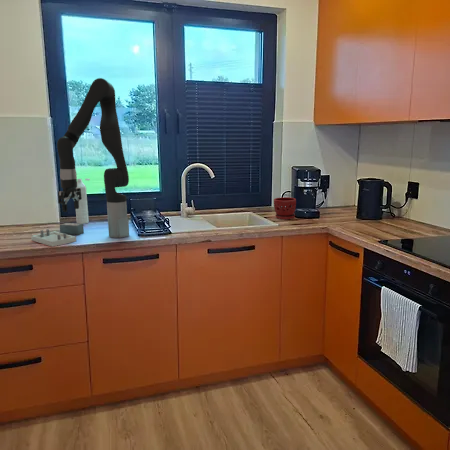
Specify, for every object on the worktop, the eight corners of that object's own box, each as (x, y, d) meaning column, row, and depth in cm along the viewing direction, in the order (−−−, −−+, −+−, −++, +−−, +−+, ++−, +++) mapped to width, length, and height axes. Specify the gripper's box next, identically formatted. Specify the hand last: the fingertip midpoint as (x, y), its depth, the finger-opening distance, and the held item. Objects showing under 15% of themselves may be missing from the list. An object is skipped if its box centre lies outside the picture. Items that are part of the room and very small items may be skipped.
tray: (76, 241, 194) (75, 232, 193) (52, 246, 185) (51, 237, 184) (55, 235, 205) (54, 227, 204) (31, 240, 196) (30, 231, 195)
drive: (83, 233, 210) (83, 223, 209) (78, 235, 206) (77, 225, 204) (66, 232, 213) (65, 222, 212) (60, 234, 208) (59, 224, 207)
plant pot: (282, 215, 257) (283, 196, 255) (299, 218, 248) (300, 198, 245) (268, 218, 249) (269, 198, 246) (285, 221, 239) (286, 201, 237)
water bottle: (75, 224, 231) (72, 179, 226) (77, 221, 237) (74, 178, 232) (92, 223, 233) (89, 179, 227) (93, 221, 239) (90, 177, 233)
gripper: (72, 176, 211) (74, 207, 215) (52, 179, 198) (54, 212, 202) (84, 176, 209) (86, 208, 213) (64, 180, 196) (67, 213, 200)
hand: (71, 210), depth 207 cm, fingers open, 8 cm apart
